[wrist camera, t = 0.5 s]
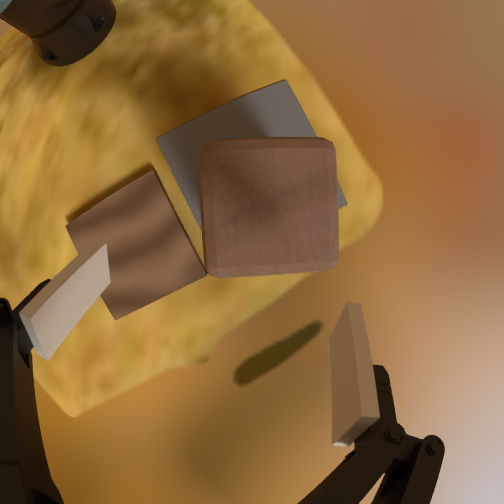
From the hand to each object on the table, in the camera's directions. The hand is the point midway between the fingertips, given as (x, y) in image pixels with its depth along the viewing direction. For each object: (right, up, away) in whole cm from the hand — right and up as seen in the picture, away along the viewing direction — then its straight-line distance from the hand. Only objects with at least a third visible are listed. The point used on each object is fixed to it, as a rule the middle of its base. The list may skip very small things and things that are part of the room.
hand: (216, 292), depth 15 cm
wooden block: (+2, +9, +25) cm, 26 cm away
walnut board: (-15, +3, +25) cm, 29 cm away
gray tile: (+2, +13, +24) cm, 27 cm away
